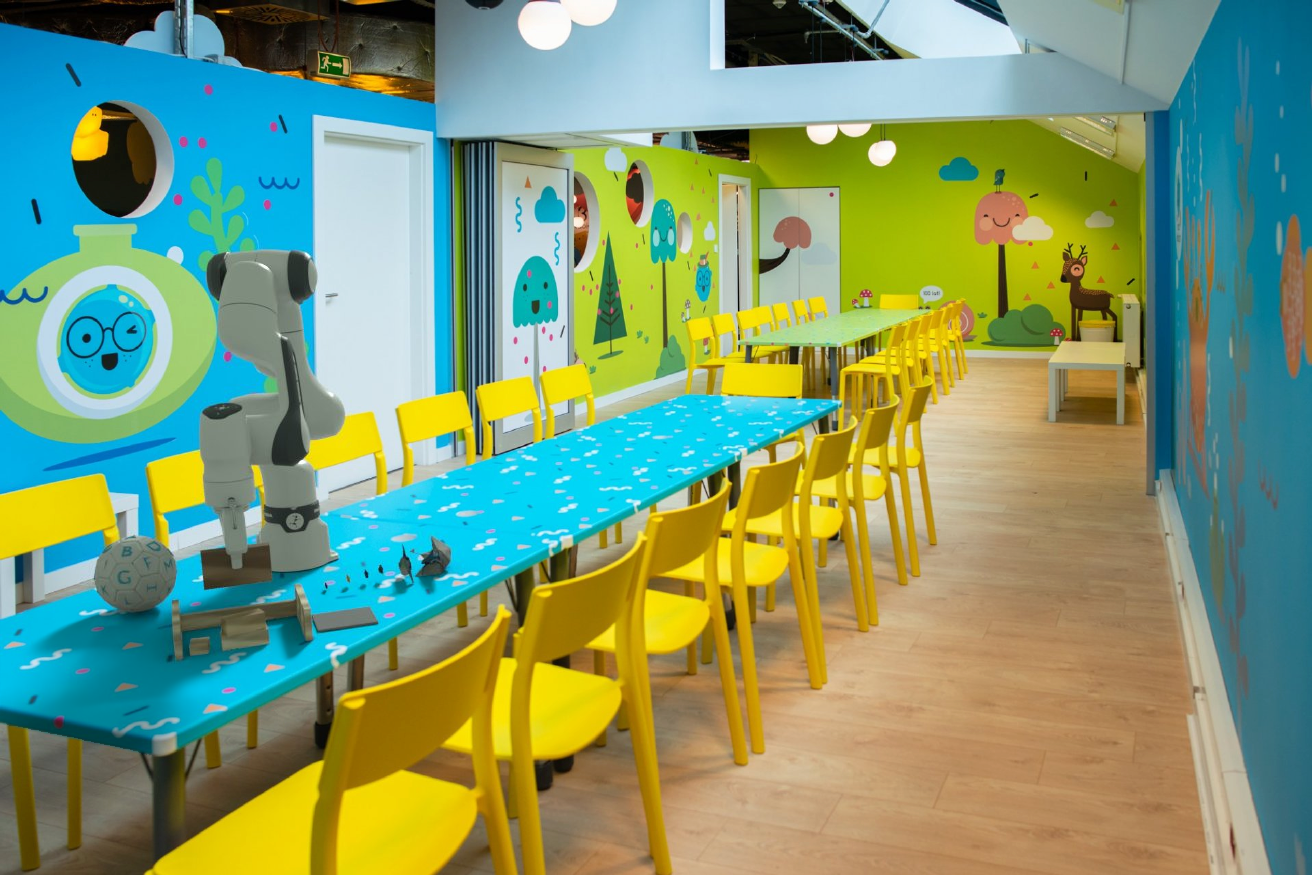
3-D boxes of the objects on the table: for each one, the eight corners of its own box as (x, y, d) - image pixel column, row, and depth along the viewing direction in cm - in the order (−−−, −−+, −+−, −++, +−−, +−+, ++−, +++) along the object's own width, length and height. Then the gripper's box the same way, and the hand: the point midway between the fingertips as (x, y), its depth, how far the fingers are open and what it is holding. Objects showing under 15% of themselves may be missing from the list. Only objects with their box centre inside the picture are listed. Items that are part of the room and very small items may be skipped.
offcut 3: (221, 646, 207) (220, 631, 207) (267, 639, 211) (266, 624, 210) (222, 652, 205) (221, 636, 204) (269, 644, 208) (268, 628, 207)
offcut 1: (192, 649, 206) (191, 638, 206) (210, 647, 207) (209, 636, 207) (190, 656, 203) (189, 646, 202) (208, 654, 204) (207, 643, 203)
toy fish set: (456, 569, 243) (444, 529, 244) (340, 601, 230) (328, 560, 231) (441, 577, 252) (430, 539, 253) (329, 609, 239) (318, 569, 240)
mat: (312, 616, 222) (311, 614, 222) (369, 608, 226) (369, 606, 226) (318, 632, 213) (318, 630, 213) (378, 623, 217) (378, 621, 217)
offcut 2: (221, 632, 206) (220, 616, 205) (260, 623, 210) (258, 608, 210) (227, 637, 204) (225, 620, 203) (266, 627, 208) (264, 612, 207)
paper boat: (444, 572, 245) (402, 562, 245) (442, 591, 250) (400, 581, 249) (458, 532, 254) (418, 522, 254) (456, 550, 259) (416, 540, 258)
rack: (174, 630, 216) (171, 599, 215) (302, 612, 225) (300, 583, 223) (175, 660, 200) (172, 627, 199) (313, 639, 209) (310, 608, 208)
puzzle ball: (188, 595, 237) (181, 525, 234) (169, 619, 222) (162, 544, 220) (111, 600, 235) (103, 529, 232) (86, 624, 220) (78, 549, 218)
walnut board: (203, 586, 213) (200, 550, 211) (271, 577, 217) (268, 542, 216) (204, 590, 211) (200, 553, 209) (272, 581, 215) (269, 545, 214)
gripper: (252, 503, 202) (258, 578, 205) (244, 479, 221) (250, 548, 224) (213, 507, 200) (221, 583, 203) (209, 483, 218) (216, 552, 221)
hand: (236, 564), depth 213 cm, fingers closed on walnut board, 2 cm apart
